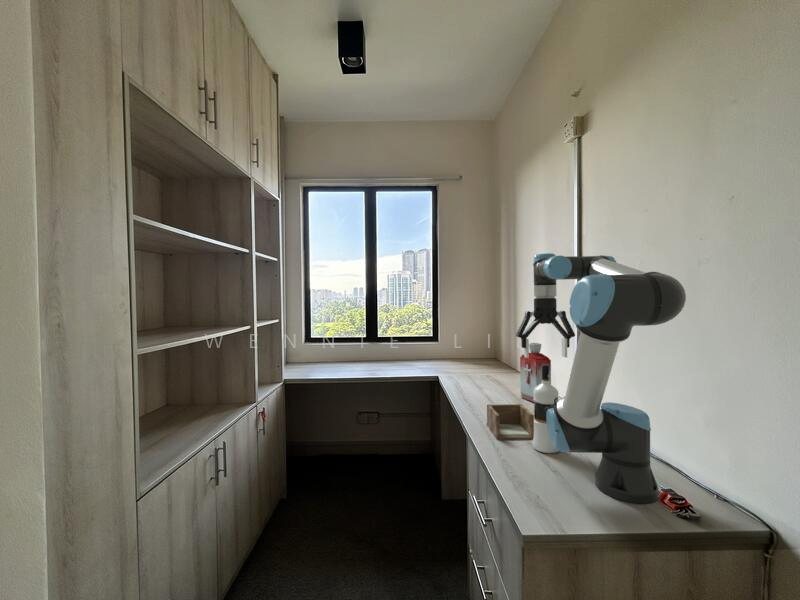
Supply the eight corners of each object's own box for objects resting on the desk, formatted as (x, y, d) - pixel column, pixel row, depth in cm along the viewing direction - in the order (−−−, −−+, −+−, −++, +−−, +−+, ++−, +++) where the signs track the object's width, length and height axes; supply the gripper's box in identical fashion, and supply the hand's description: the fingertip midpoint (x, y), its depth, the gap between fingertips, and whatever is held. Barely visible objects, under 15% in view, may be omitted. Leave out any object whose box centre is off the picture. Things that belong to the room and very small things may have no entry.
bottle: (518, 398, 198) (518, 342, 198) (534, 396, 201) (534, 341, 201) (536, 405, 184) (535, 345, 184) (553, 403, 187) (552, 344, 187)
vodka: (543, 441, 138) (542, 361, 138) (566, 450, 130) (565, 365, 130) (527, 447, 133) (526, 364, 133) (550, 456, 125) (549, 368, 125)
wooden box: (534, 439, 141) (534, 415, 141) (497, 439, 141) (496, 416, 140) (520, 424, 157) (520, 403, 157) (486, 425, 157) (486, 404, 156)
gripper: (574, 297, 135) (575, 354, 135) (506, 297, 135) (507, 355, 135) (585, 297, 128) (585, 358, 128) (513, 297, 128) (513, 359, 128)
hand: (545, 357), depth 132 cm, fingers open, 13 cm apart
